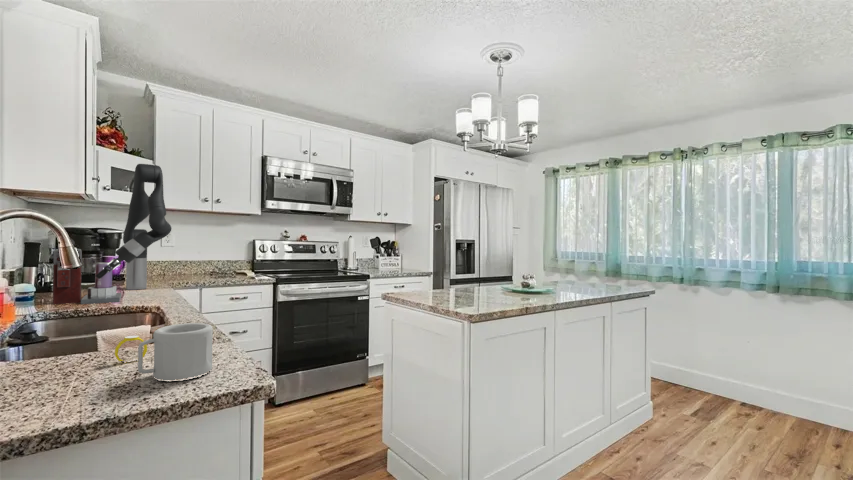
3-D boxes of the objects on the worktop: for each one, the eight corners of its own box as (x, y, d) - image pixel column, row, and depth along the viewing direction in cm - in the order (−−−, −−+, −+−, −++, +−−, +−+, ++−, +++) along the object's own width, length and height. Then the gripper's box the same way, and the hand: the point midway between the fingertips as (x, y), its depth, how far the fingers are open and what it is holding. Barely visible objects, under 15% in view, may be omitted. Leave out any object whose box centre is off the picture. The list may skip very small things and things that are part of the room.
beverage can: (114, 295, 182) (116, 262, 182) (103, 296, 176) (104, 263, 177) (102, 294, 183) (104, 262, 183) (90, 296, 177) (92, 262, 177)
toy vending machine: (52, 305, 165) (53, 238, 165) (54, 302, 174) (54, 238, 173) (81, 303, 171) (81, 238, 171) (81, 300, 179) (81, 238, 179)
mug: (200, 363, 92) (200, 320, 92) (220, 373, 85) (221, 327, 85) (129, 378, 81) (130, 330, 81) (146, 391, 75) (147, 339, 75)
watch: (143, 359, 95) (146, 334, 96) (147, 361, 94) (149, 336, 94) (112, 362, 91) (115, 336, 91) (115, 365, 89) (118, 338, 89)
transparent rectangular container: (85, 299, 183) (85, 286, 183) (121, 296, 190) (121, 284, 190) (80, 304, 168) (80, 290, 168) (119, 301, 176) (119, 288, 176)
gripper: (124, 244, 189) (92, 270, 183) (122, 245, 178) (88, 272, 171) (137, 255, 192) (106, 280, 186) (137, 256, 181) (104, 283, 174)
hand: (98, 276), depth 178 cm, fingers open, 6 cm apart
